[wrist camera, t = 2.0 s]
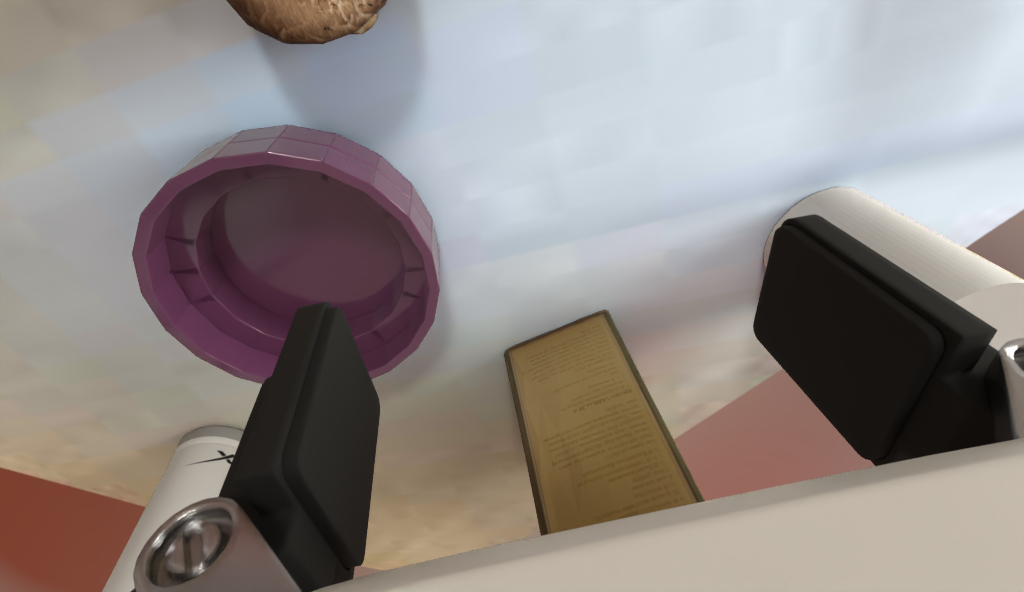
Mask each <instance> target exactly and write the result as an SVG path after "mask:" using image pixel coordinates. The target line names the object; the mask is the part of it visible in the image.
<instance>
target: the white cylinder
mask: <svg viewBox="0 0 1024 592" xmlns="http://www.w3.org/2000/svg"><path fill="white" fill-rule="evenodd" d="M813 214H816V215H819V216H821V217H823V218H824V219H826V220H827V221H829V222H830V223H832V224H833V225H835V226H837V227H838V228H840V229H841V230H843V231H844V232H846V233H847V234H849V235H851V236H852V237H854V238H855V239H857V240H858V241H860V242H861V243H863V244H865V245H866V246H868V247H869V248H871V249H872V250H874V251H875V252H877V253H879V254H880V255H882V256H883V257H885V258H886V259H888V260H889V261H891V262H893V263H894V264H896V265H897V266H899V267H900V268H902V269H903V270H905V271H907V272H908V273H910V274H911V275H913V276H914V277H916V278H917V279H919V280H921V281H922V282H924V283H925V284H927V285H928V286H930V287H931V288H933V289H935V290H936V291H938V292H939V293H941V294H942V295H944V296H945V297H947V298H949V299H950V300H952V301H953V302H955V303H956V304H958V305H959V306H961V307H963V308H964V309H966V310H967V311H969V312H970V313H972V314H973V315H975V316H977V317H978V318H980V319H981V320H983V321H984V322H986V323H987V324H989V325H991V326H992V327H994V328H995V329H997V330H998V331H997V332H996V334H995V335H994V337H993V339H992V340H991V342H990V343H989V345H990V346H992V347H993V348H995V349H996V350H998V351H999V350H1000V348H1001V347H1002V346H1003V345H1004V344H1005V343H1006V342H1007V341H1011V340H1014V339H1018V338H1024V280H1023V279H1021V278H1019V277H1017V276H1015V275H1014V274H1012V273H1010V272H1008V271H1006V270H1004V269H1003V268H1001V267H999V266H997V265H995V264H993V263H991V262H990V261H988V260H986V259H984V258H982V257H981V256H979V255H977V254H975V253H973V252H971V251H969V250H968V249H966V248H964V247H962V246H960V245H958V244H957V243H955V242H953V241H951V240H949V239H947V238H946V237H944V236H942V235H940V234H938V233H936V232H934V231H933V230H931V229H929V228H927V227H925V226H923V225H922V224H920V223H918V222H916V221H914V220H912V219H911V218H909V217H907V216H905V215H903V214H901V213H900V212H898V211H896V210H894V209H892V208H890V207H888V206H887V205H885V204H883V203H881V202H879V201H877V200H876V199H874V198H872V197H870V196H868V195H866V194H865V193H863V192H861V191H859V190H857V189H854V188H849V187H835V188H829V189H826V190H822V191H819V192H817V193H815V194H813V195H810V196H809V197H807V198H805V199H803V200H802V201H800V202H799V203H797V204H796V205H795V206H794V207H792V208H791V209H790V210H789V211H788V212H787V213H786V214H785V215H784V216H783V217H782V218H781V219H780V220H779V221H778V223H777V224H776V225H775V227H774V228H773V230H772V232H771V233H770V235H769V237H768V240H767V242H766V245H765V249H764V256H763V260H764V266H765V269H766V267H767V263H768V258H769V254H770V250H771V245H772V241H773V237H774V233H775V231H776V230H777V228H779V227H781V225H782V223H783V222H784V221H785V220H787V219H790V218H795V217H801V216H806V215H813Z"/></svg>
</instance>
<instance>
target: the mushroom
mask: <svg viewBox="0 0 1024 592" xmlns="http://www.w3.org/2000/svg"><path fill="white" fill-rule="evenodd" d="M227 1H228V3H229V4H230V5H231V6H232V7H233V8H234V10H235V11H236V12H237V13H238V14H239V15H240V16H241V18H242V19H243V20H244V21H245V22H246V23H247V24H248V25H249V26H251V27H252V28H254V29H255V30H258V31H260V32H262V33H264V34H266V35H268V36H270V37H272V38H275V39H277V40H279V41H281V42H283V43H288V44H324V43H327V42H329V41H332V40H335V39H338V38H340V37H343V36H346V35H349V34H363V33H365V32H366V31H368V30H369V29H370V28H372V26H373V25H374V23H375V22H376V20H377V12H378V11H379V10H380V9H381V8H382V7H383V6H384V5H385V3H386V1H387V0H227Z"/></svg>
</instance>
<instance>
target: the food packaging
mask: <svg viewBox="0 0 1024 592" xmlns="http://www.w3.org/2000/svg"><path fill="white" fill-rule="evenodd" d="M504 357H505V361H506V365H507V370H508V375H509V380H510V385H511V389H512V394H513V399H514V403H515V408H516V413H517V417H518V422H519V427H520V432H521V437H522V442H523V447H524V452H525V457H526V462H527V467H528V472H529V477H530V482H531V487H532V492H533V497H534V502H535V508H536V513H537V518H538V523H539V528H540V533H541V536H543V535H547V534H552V533H557V532H561V531H566V530H571V529H576V528H580V527H585V526H590V525H594V524H599V523H604V522H608V521H613V520H618V519H622V518H627V517H632V516H637V515H642V514H646V513H651V512H656V511H661V510H666V509H670V508H675V507H680V506H685V505H689V504H694V503H699V502H704V501H705V500H704V498H703V496H702V494H701V492H700V490H699V488H698V486H697V485H696V483H695V481H694V479H693V477H692V475H691V473H690V471H689V469H688V467H687V465H686V463H685V461H684V459H683V457H682V455H681V453H680V452H679V450H678V448H677V446H676V444H675V442H674V440H673V438H672V436H671V434H670V432H669V430H668V428H667V426H666V424H665V422H664V420H663V419H662V417H661V415H660V413H659V411H658V409H657V407H656V405H655V403H654V401H653V399H652V397H651V395H650V393H649V391H648V389H647V387H646V385H645V383H644V381H643V379H642V377H641V376H640V374H639V372H638V370H637V368H636V366H635V364H634V362H633V360H632V358H631V356H630V354H629V352H628V350H627V348H626V346H625V344H624V342H623V340H622V338H621V336H620V334H619V332H618V330H617V328H616V326H615V324H614V322H613V320H612V318H611V315H610V314H609V312H608V311H607V310H603V311H600V312H597V313H595V314H592V315H589V316H587V317H584V318H582V319H579V320H577V321H575V322H573V323H570V324H568V325H565V326H563V327H560V328H558V329H556V330H553V331H550V332H548V333H545V334H543V335H540V336H538V337H535V338H533V339H530V340H528V341H525V342H523V343H520V344H518V345H515V346H513V347H511V348H509V349H508V350H506V351H505V353H504Z"/></svg>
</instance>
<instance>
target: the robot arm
mask: <svg viewBox="0 0 1024 592" xmlns="http://www.w3.org/2000/svg"><path fill="white" fill-rule="evenodd" d="M753 328H754V333H755V335H756V337H757V339H758V340H759V341H760V343H761V344H762V345H763V346H764V347H765V348H766V349H767V351H768V352H769V353H770V354H771V355H772V356H773V357H774V358H775V360H776V361H777V362H778V363H779V364H780V365H781V366H782V368H783V369H784V370H785V371H786V372H787V373H788V374H789V376H790V377H791V378H792V379H793V380H794V381H795V382H796V383H797V384H798V386H799V387H800V388H801V389H802V390H803V392H804V393H805V394H806V395H807V396H808V397H809V398H810V399H811V401H812V402H813V403H814V404H815V405H816V406H817V407H818V409H819V410H820V411H821V412H822V413H823V414H824V415H825V416H826V418H827V419H828V420H829V421H830V422H831V423H832V425H833V426H834V427H835V428H836V429H837V430H838V431H839V433H840V434H841V435H842V436H843V437H844V438H845V439H846V440H847V442H848V443H849V444H850V445H851V446H852V447H853V448H854V450H855V451H856V452H857V453H858V454H859V455H860V456H861V457H863V458H865V459H868V460H871V461H872V463H873V464H874V465H875V467H870V468H865V469H860V470H855V471H850V472H845V473H840V474H835V475H830V476H825V477H820V478H815V479H811V480H805V481H800V482H796V483H791V484H786V485H781V486H777V487H771V488H767V489H762V490H757V491H752V492H747V493H742V494H738V495H733V496H728V497H723V498H718V499H714V500H709V501H704V502H699V503H694V504H689V505H685V506H680V507H675V508H670V509H666V510H661V511H656V512H651V513H646V514H642V515H637V516H632V517H627V518H622V519H618V520H613V521H608V522H604V523H599V524H594V525H590V526H585V527H580V528H576V529H571V530H566V531H561V532H557V533H552V534H547V535H543V536H538V537H534V538H529V539H524V540H519V541H515V542H510V543H505V544H501V545H496V546H491V547H487V548H482V549H477V550H472V551H468V552H464V553H459V554H455V555H451V556H446V557H442V558H438V559H434V560H429V561H425V562H421V563H416V564H412V565H408V566H403V567H399V568H395V569H390V570H386V571H382V572H377V573H373V574H370V575H366V576H363V577H359V578H355V579H353V575H354V567H355V566H360V565H362V563H363V560H364V556H365V547H366V538H367V529H368V519H369V510H370V501H371V491H372V482H373V473H374V463H375V454H376V444H377V435H378V426H379V416H380V403H379V398H378V395H377V392H376V390H375V388H374V385H373V383H372V380H371V378H370V376H369V373H368V371H367V368H366V366H365V363H364V361H363V359H362V356H361V354H360V351H359V349H358V347H357V344H356V342H355V339H354V337H353V335H352V332H351V330H350V327H349V325H348V322H347V320H346V318H345V315H344V313H343V311H342V309H341V308H340V307H334V308H333V307H332V305H331V304H330V303H329V302H323V303H317V304H312V305H306V306H301V307H298V309H297V311H296V313H295V316H294V319H293V321H292V324H291V327H290V329H289V332H288V334H287V337H286V340H285V342H284V345H283V348H282V350H281V353H280V356H279V358H278V361H277V363H276V366H275V369H274V371H273V374H272V376H270V377H268V378H267V379H266V380H265V381H264V383H263V385H262V387H261V389H260V392H259V394H258V397H257V399H256V402H255V404H254V407H253V410H252V412H251V415H250V417H249V420H248V422H247V425H246V427H245V430H244V432H243V435H242V437H241V440H240V443H239V445H238V448H237V450H236V453H235V455H234V458H233V460H232V463H231V465H230V468H229V471H228V473H227V476H226V478H225V481H224V483H223V486H222V488H221V491H220V493H219V496H218V497H215V498H207V499H204V500H201V501H198V502H196V503H193V504H190V505H189V506H187V507H185V508H184V509H182V510H180V511H179V512H177V513H175V514H174V515H173V516H171V517H170V518H169V519H168V520H167V521H166V522H164V523H163V524H162V525H161V526H160V527H159V528H158V529H157V530H156V531H155V532H154V534H153V535H152V536H151V537H150V538H149V539H148V541H147V542H146V543H145V545H144V547H143V549H142V550H141V552H140V554H139V556H138V558H137V560H136V564H135V568H134V572H133V579H134V587H135V588H134V589H133V590H132V591H131V592H1024V338H1018V339H1014V340H1011V341H1007V342H1006V343H1005V344H1004V345H1003V346H1002V347H1001V348H1000V350H999V351H998V350H996V349H995V348H993V347H992V346H990V345H989V343H990V342H991V340H992V339H993V337H994V335H995V334H996V332H997V331H998V330H997V329H995V328H994V327H992V326H991V325H989V324H987V323H986V322H984V321H983V320H981V319H980V318H978V317H977V316H975V315H973V314H972V313H970V312H969V311H967V310H966V309H964V308H963V307H961V306H959V305H958V304H956V303H955V302H953V301H952V300H950V299H949V298H947V297H945V296H944V295H942V294H941V293H939V292H938V291H936V290H935V289H933V288H931V287H930V286H928V285H927V284H925V283H924V282H922V281H921V280H919V279H917V278H916V277H914V276H913V275H911V274H910V273H908V272H907V271H905V270H903V269H902V268H900V267H899V266H897V265H896V264H894V263H893V262H891V261H889V260H888V259H886V258H885V257H883V256H882V255H880V254H879V253H877V252H875V251H874V250H872V249H871V248H869V247H868V246H866V245H865V244H863V243H861V242H860V241H858V240H857V239H855V238H854V237H852V236H851V235H849V234H847V233H846V232H844V231H843V230H841V229H840V228H838V227H837V226H835V225H833V224H832V223H830V222H829V221H827V220H826V219H824V218H823V217H821V216H819V215H816V214H813V215H806V216H801V217H795V218H790V219H787V220H785V221H784V222H783V223H782V225H781V227H779V228H777V230H776V231H775V233H774V237H773V241H772V245H771V250H770V254H769V258H768V263H767V267H766V271H765V276H764V280H763V284H762V289H761V293H760V297H759V302H758V306H757V310H756V315H755V319H754V324H753Z"/></svg>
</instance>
